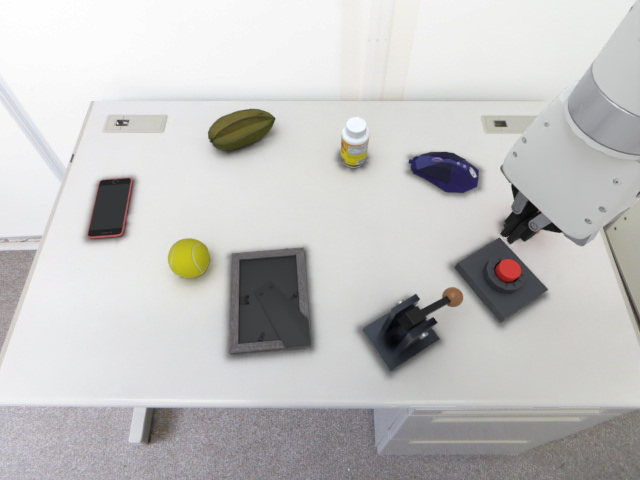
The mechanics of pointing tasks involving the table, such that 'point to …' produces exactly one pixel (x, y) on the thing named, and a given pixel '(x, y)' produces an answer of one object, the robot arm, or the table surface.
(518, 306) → the grey base plate
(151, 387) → the table surface
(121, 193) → the smartphone
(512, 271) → the button
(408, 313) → the switch lever
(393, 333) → the switch bracket
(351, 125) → the supplement bottle
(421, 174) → the computer mouse
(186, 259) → the tennis ball
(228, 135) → the fruit
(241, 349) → the picture frame
